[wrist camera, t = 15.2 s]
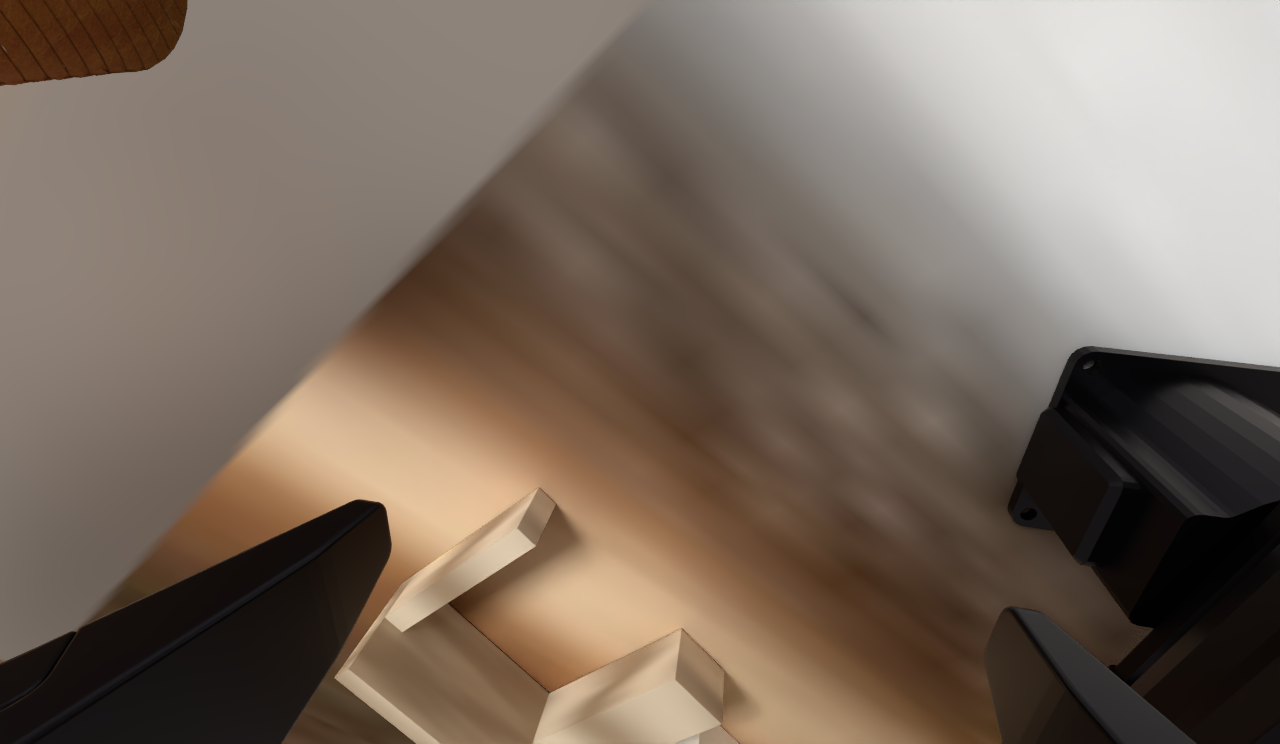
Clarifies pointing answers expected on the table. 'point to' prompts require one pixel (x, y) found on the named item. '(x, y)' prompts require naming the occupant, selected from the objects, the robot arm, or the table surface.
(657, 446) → the table surface
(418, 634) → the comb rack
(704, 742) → the plug block
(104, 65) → the disposable coffee cup
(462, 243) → the table surface
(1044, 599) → the table surface
